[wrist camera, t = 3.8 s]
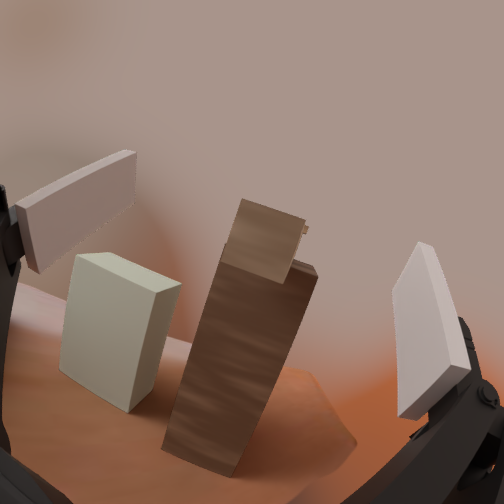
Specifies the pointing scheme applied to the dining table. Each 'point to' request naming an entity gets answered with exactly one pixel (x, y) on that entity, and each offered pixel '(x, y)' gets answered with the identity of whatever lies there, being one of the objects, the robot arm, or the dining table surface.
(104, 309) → the cream upright block
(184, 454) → the wooden block
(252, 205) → the brown square block
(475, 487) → the robot arm
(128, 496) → the dining table surface
